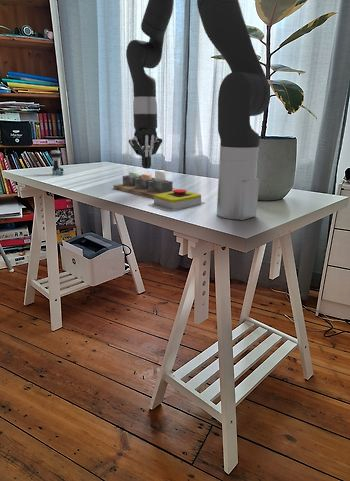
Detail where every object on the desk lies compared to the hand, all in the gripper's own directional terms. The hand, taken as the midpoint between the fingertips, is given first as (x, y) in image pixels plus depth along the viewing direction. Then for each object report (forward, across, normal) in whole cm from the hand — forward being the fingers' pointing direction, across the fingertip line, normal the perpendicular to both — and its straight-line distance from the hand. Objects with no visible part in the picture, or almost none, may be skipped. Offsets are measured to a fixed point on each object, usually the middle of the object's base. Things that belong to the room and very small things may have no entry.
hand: (146, 168), depth 113 cm
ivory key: (+4, 0, -7) cm, 8 cm away
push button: (+7, -6, +52) cm, 53 cm away
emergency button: (+9, -6, -20) cm, 22 cm away
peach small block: (+6, 0, 0) cm, 6 cm away
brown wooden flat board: (+8, 0, 0) cm, 8 cm away
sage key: (+6, 0, +7) cm, 9 cm away
